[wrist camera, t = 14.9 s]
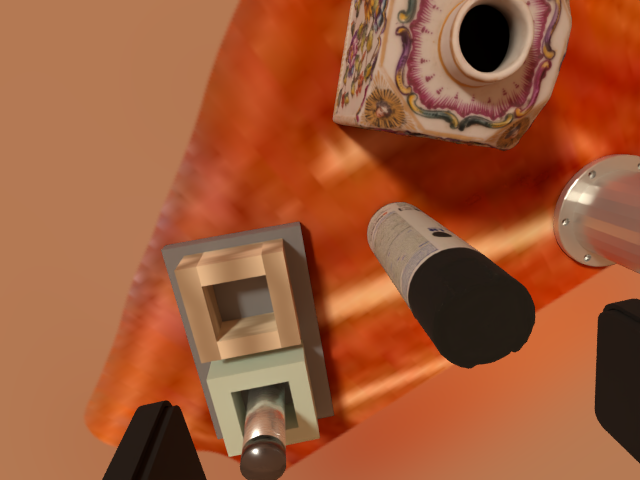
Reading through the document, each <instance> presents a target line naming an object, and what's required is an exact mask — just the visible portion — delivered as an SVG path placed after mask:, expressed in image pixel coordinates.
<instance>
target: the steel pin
mask: <svg viewBox="0 0 640 480" xmlns="http://www.w3.org/2000/svg"><path fill="white" fill-rule="evenodd" d="M285 469H286V435H285V383H284V382H282V383H277V384H272V385H267V386H262V387H257V388H252V389H249V393H248V402H247V411H246V419H245V428H244V437H243V445H242V454H241V463H240V470H241V473H242V475H243V476H244V477H245V478H246V479H247V480H277V479H278V478H280V477H281V476H282V474H283V473H284V471H285Z"/></svg>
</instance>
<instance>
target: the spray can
mask: <svg viewBox="0 0 640 480" xmlns="http://www.w3.org/2000/svg"><path fill="white" fill-rule="evenodd" d="M367 237H368V243H369V246H370V248H371V250H372V251H373V253H374V254H375V256H376V257H377V259H378V260H379V262H380V264H381V265H382V267H383V268H384V270H385V271H386V273H387V274H388V276H389V277H390V279H391V280H392V282H393V283H394V285H395V286H396V288H397V290H398V291H399V293H400V294H401V296H402V297H403V299H404V300H405V302H406V303H407V305H408V306H409V308H410V309H411V311H412V313H413V315H414V317H415V318H416V319H417V320H418V322H419V323H420V325H421V326H422V327H423V329H424V330H425V332H426V333H427V335H428V336H429V337H430V339H431V340H432V342H433V343H434V345H435V346H436V348H437V349H438V351H439V352H440V354H441V355H442V356H444V357H445V358H446V359H447V360H448V361H450V362H451V363H453V364H455V365H458V366H460V367H464V368H468V369H469V368H472V367H474V366H476V365H479V364H487V363H492V362H495V361H497V360H499V359H501V358H503V357H505V356H506V355H508V354H510V352H511V351H512V352H517V351H519V350H520V349H521V348H522V346H523V345H524V344H525V343H526V342H527V340H528V337H529V335H530V334H531V332H532V328H533V325H534V323H535V306H534V303H533V300H532V298H531V295H530V294H529V292H528V291H527V289H526V288H525V287H524V286H523V285H522V284H521V283H520V282H518V281H517V280H516V279H514V278H513V277H512V276H510V275H509V274H508V273H507V272H505V271H504V270H503V269H501V268H500V267H499V266H497V265H496V264H495V263H494V262H492V261H491V260H490V259H488V258H487V257H486V256H485V255H483V254H481V253H480V252H479V251H478V250H476V249H474V248H473V247H472V246H470V245H469V244H468V243H466V242H465V241H463V240H462V239H461V238H459V237H458V236H456V235H455V234H454V233H452V232H451V231H449V230H448V229H446V228H445V227H444V226H442V225H441V224H439V223H438V222H437V221H435V220H434V219H432V218H431V217H429V216H428V215H426V214H425V213H424V212H422V211H421V210H420V209H418V208H417V207H415V206H413V205H411V204H408V203H405V202H396V203H391V204H388V205H386V206H384V207H382V208H381V209H379V210H378V211H377V212H376V213H375V214H374V215H373V217H372V218H371V220H370V223H369V225H368V230H367Z"/></svg>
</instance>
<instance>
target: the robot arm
mask: <svg viewBox="0 0 640 480" xmlns="http://www.w3.org/2000/svg"><path fill="white" fill-rule="evenodd" d="M553 225H554V234H555V237H556V240H557V242H558V244H559V246H560V247H561V249H562V250H563V251H564V252H565V253H566V254H567V255H568V256H569V257H571V258H572V259H574V260H576V261H578V262H580V263H582V264H585V265H589V266H594V267H602V266H609V265H614V264H620V265H622V266H624V267H626V268H628V269H631V270H633V271H635V272H637V273H640V157H639V156H634V155H627V154H615V155H609V156H605V157H602V158H599V159H597V160H595V161H593V162H591V163H589V164H588V165H586V166H585V167H583V168H582V169H581V170H580V171H579V172H577V173H576V174H575V175H574V176H573V177H572V179H571V180H570V181H569V182H568V183H567V185H566V186H565V188H564V189H563V191H562V193H561V195H560V197H559V199H558V202H557V204H556V208H555V212H554V222H553ZM596 361H597V362H596V387H595V414H596V417H597V419H598V421H599V423H600V424H601V426H602V427H603V428H604V429H605V430H606V431H607V432H608V433H609V434H610V435H611V436H612V437H613V438H614V439H615V440H616V441H617V442H618V443H620V444H621V446H623V447H624V448H625V449H626V450H627V451H628V452H629V453H630V454H631V455H632V456H633V457H634V458H635V459H636V460H637V461H638V462H639V463H640V300H639V299H629V300H625V301H620V302H615V303H611V304H608V305H606V306H605V308H604V309H603V312H602V313H600V315H599V317H598V334H597V360H596ZM102 480H207V479H206V477H205V474H204V471H203V469H202V466H201V463H200V461H199V458H198V455H197V452H196V449H195V447H194V444H193V441H192V439H191V436H190V433H189V430H188V428H187V425H186V422H185V419H184V417H183V414H182V411H181V409H180V407H179V406H177V405H176V406H172V405H171V403H170V402H169V401H161V402H157V403H152V404H147V405H143V406H140V407H138V409H137V410H136V412H135V414H134V416H133V418H132V420H131V422H130V424H129V426H128V428H127V430H126V432H125V434H124V436H123V438H122V440H121V442H120V444H119V446H118V448H117V451H116V453H115V455H114V457H113V459H112V461H111V463H110V465H109V467H108V469H107V471H106V473H105V475H104V477H103V479H102Z"/></svg>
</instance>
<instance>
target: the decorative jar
mask: <svg viewBox="0 0 640 480" xmlns="http://www.w3.org/2000/svg"><path fill="white" fill-rule="evenodd" d="M571 27H572V17H571V11H570V5H569V0H352V2H351V7H350V14H349V20H348V27H347V33H346V38H345V46H344V51H343V56H342V62H341V69H340V75H339V81H338V89H337V95H336V102H335V107H334V114H333V121H334V122H335V123H338V124H341V125H346V126H354V127H358V128H362V129H370V130H376V131H386V132H391V133H395V134H400V135H408V136H410V137H411V136H416V137H425V138H430V139H438V140H442V141H448V142H453V143H457V144H467V145H476V146H483V147H491V148H497V149H499V150H502V151H506V150H508V149H511V148H513V147H514V146H515V145H516V144H518V143H519V139H520V138H521V137H522V135H523V134H524V133H525V132H526V131H527V130H528V129H529V128H530V127H531V125H532V123H533V121H534V120H535V118H536V116H537V115H538V114H539V112H540V111H541V110H542V108H543V107H544V106H545V105H546V103H547V102H548V100H549V98H550V97H551V94H552V91H553V88H554V85H555V82H556V79H557V76H558V73H559V71H560V67H561V64H562V61H563V59H564V57H565V54H566V50H567V45H568V41H569V36H570V31H571Z"/></svg>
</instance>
